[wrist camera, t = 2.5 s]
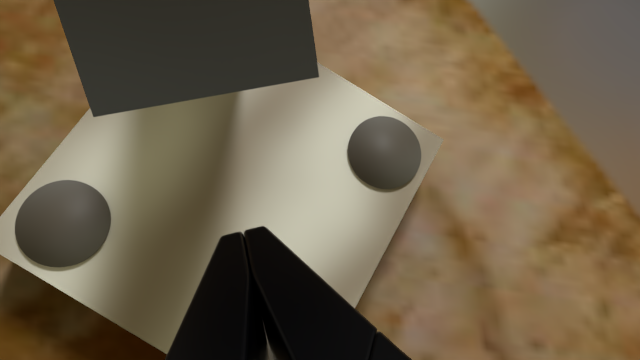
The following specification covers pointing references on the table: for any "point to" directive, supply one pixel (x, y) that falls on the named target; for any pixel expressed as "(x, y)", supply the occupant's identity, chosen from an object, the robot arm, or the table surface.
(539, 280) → the table surface
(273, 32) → the folding leg
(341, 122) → the stool seat
